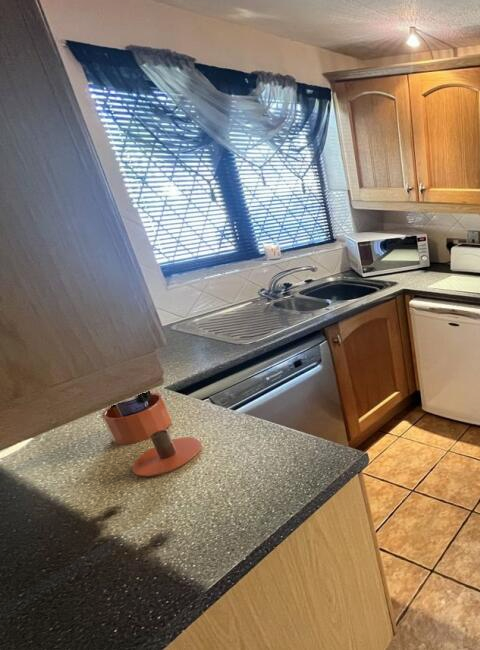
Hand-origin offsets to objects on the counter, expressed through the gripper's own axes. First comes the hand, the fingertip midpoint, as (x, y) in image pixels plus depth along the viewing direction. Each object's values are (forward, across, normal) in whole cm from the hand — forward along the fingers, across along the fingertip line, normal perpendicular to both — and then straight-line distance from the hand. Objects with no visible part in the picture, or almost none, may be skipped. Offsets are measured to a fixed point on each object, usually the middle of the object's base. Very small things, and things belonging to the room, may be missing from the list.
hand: (131, 401), depth 97 cm
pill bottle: (+5, 0, 0) cm, 5 cm away
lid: (+8, +12, -15) cm, 21 cm away
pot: (+9, 0, 0) cm, 9 cm away
